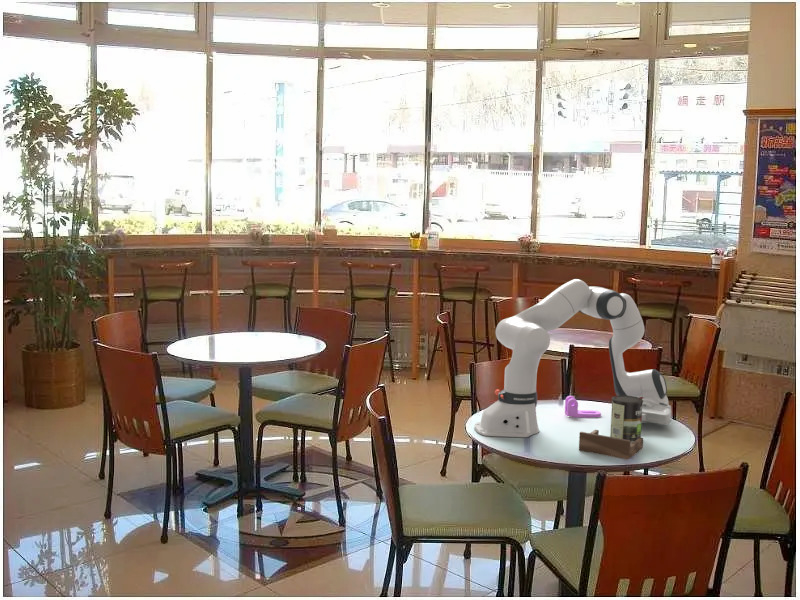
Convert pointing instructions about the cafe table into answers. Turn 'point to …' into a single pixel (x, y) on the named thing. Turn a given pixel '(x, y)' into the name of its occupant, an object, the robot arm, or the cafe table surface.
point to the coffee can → (626, 417)
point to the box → (609, 445)
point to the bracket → (573, 411)
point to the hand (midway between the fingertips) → (635, 418)
